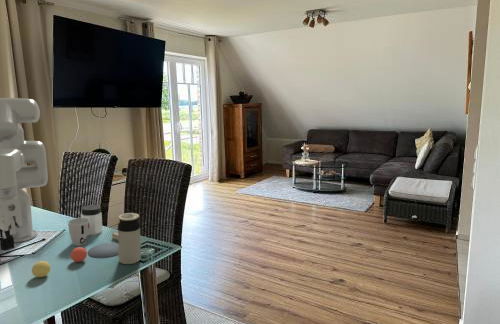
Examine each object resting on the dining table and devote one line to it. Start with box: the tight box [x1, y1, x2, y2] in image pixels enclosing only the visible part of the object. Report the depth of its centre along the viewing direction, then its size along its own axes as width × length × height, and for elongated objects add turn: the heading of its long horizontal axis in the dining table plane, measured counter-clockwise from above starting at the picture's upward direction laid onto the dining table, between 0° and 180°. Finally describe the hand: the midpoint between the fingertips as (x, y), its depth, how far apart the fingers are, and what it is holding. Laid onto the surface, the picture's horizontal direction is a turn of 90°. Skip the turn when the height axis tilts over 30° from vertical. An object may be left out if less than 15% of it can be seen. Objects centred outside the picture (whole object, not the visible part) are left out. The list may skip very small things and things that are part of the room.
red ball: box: [70, 246, 88, 263], centre depth 131 cm, size 6×6×6 cm
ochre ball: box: [31, 260, 51, 278], centre depth 119 cm, size 6×6×6 cm
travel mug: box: [117, 212, 142, 265], centre depth 132 cm, size 8×8×18 cm
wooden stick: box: [111, 231, 142, 247], centre depth 150 cm, size 2×16×2 cm, turn 59°
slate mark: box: [87, 242, 119, 259], centre depth 142 cm, size 14×14×1 cm
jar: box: [80, 204, 103, 236], centre depth 159 cm, size 9×8×12 cm
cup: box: [67, 217, 89, 247], centre depth 146 cm, size 8×8×10 cm
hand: (7, 248), depth 109 cm, fingers closed
